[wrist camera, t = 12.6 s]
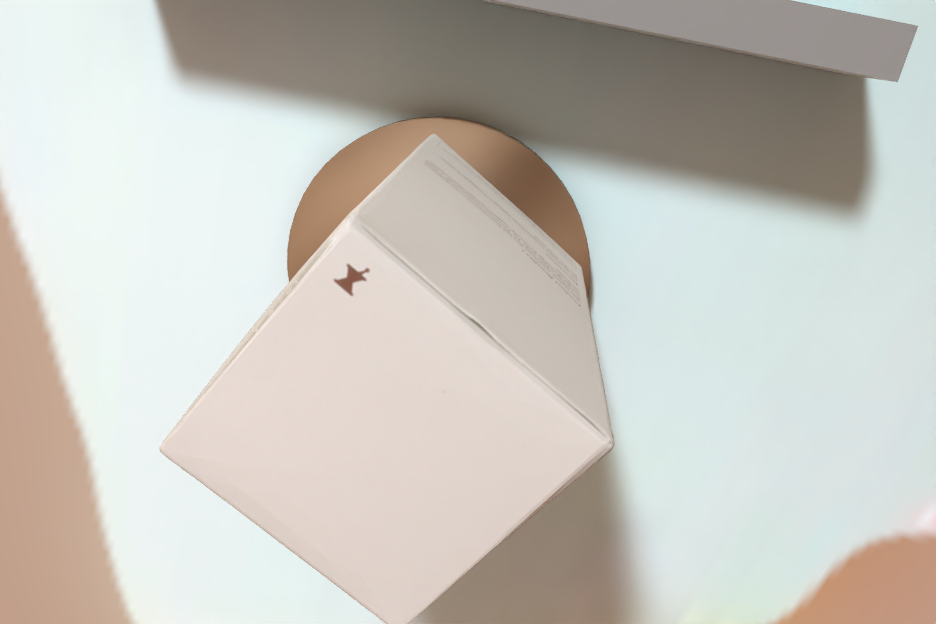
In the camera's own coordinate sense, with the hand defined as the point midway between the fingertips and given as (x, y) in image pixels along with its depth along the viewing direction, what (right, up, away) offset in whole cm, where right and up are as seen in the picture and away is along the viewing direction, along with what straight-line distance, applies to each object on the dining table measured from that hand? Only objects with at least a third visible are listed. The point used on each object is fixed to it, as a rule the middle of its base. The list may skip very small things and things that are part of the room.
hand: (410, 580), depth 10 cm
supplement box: (0, +5, +18) cm, 19 cm away
